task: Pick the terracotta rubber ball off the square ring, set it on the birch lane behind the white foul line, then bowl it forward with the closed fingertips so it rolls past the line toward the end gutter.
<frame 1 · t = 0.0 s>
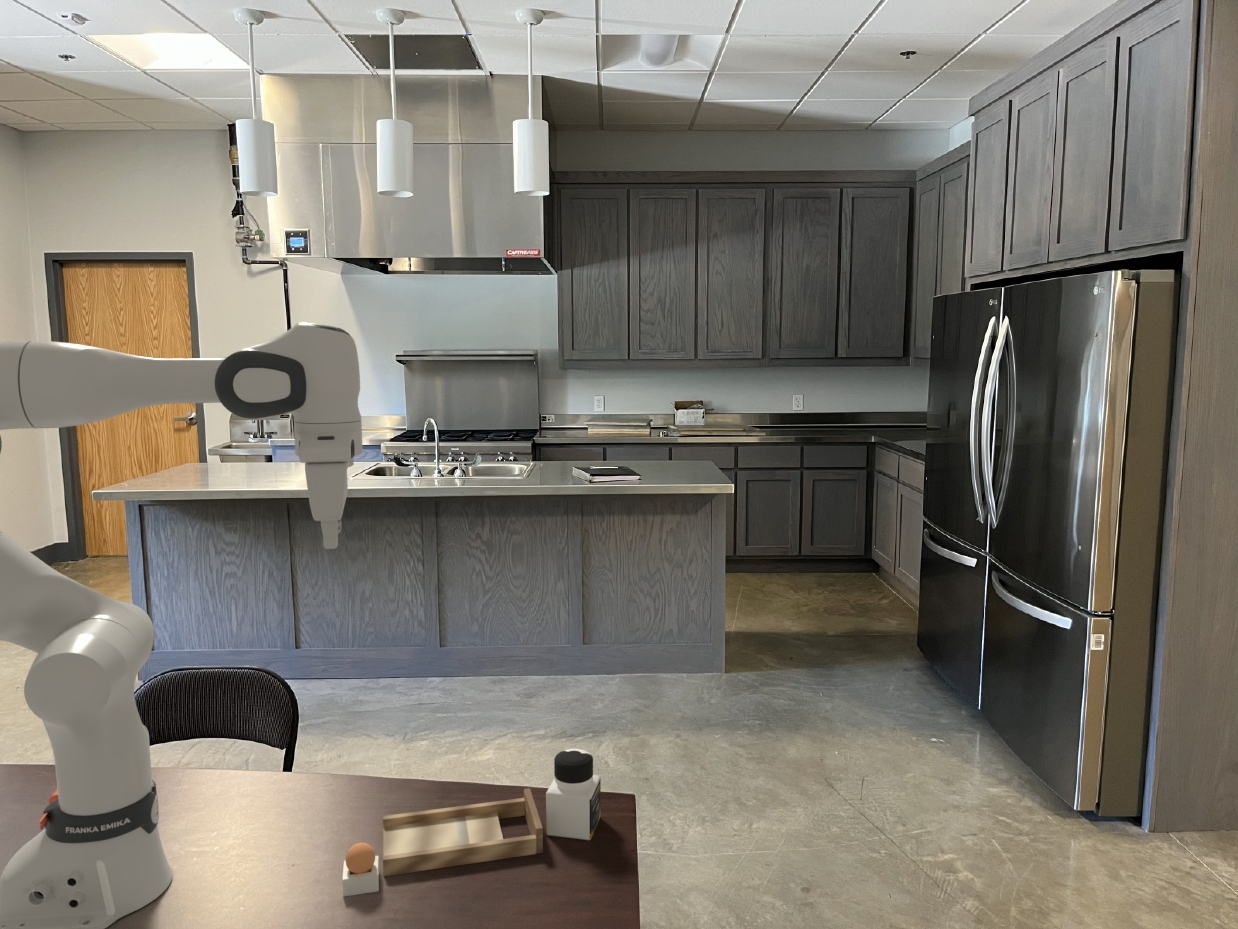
hand: (333, 540, 122), 48 cm above the table, fingers open, 8 cm apart
medicine bottle: (573, 827, 137), on the table
square ring: (361, 883, 123), on the table
ball: (360, 858, 122), point 4 cm above the table, touching square ring
lane: (458, 842, 133), on the table
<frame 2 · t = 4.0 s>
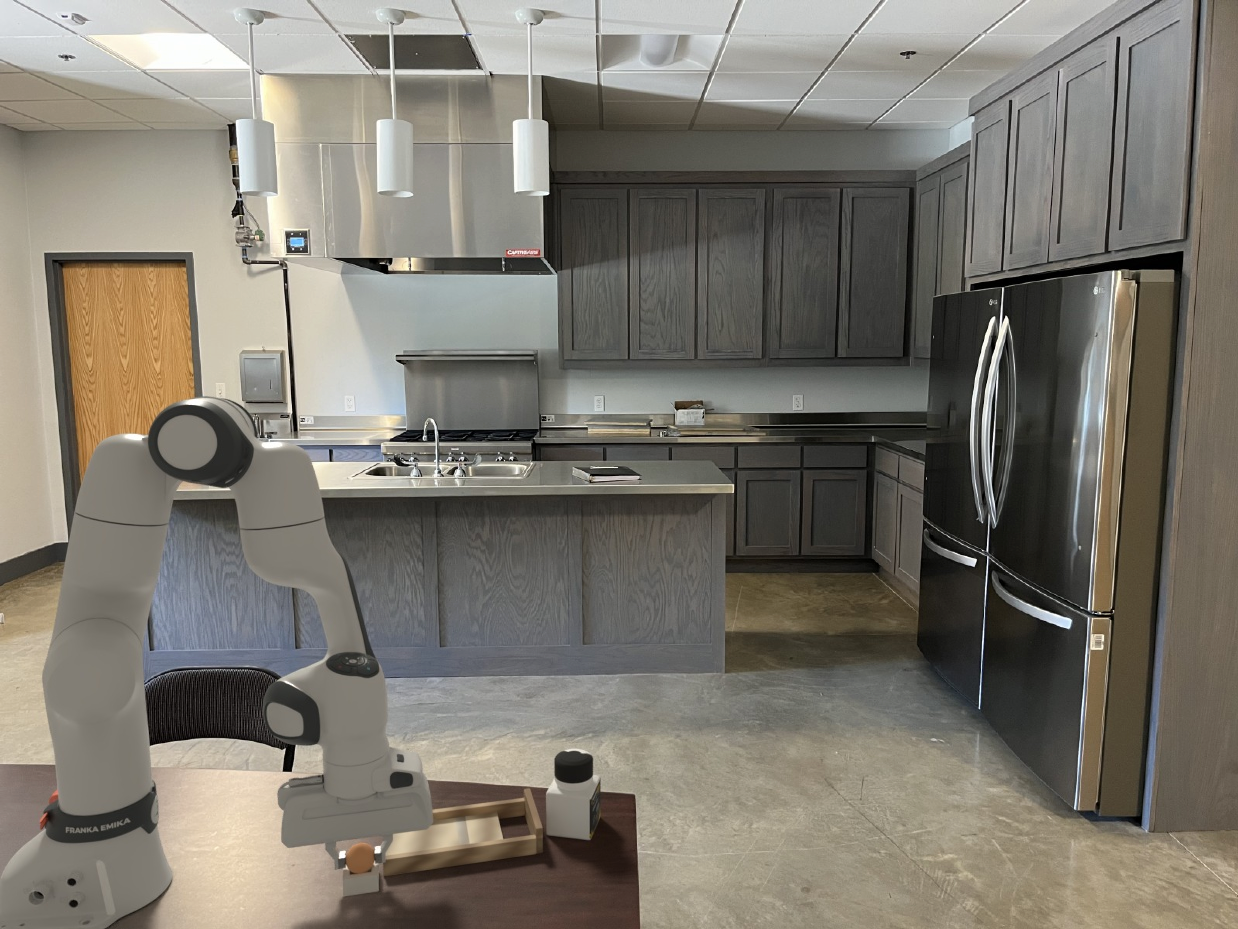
hand: (360, 864, 122), 3 cm above the table, fingers closed on ball, 4 cm apart
ball: (360, 858, 122), point 4 cm above the table, touching gripper, square ring
everything else where it was.
when the fingers open (3 cm above the table, at t = 8.2 s): ball stays where it is, resting on lane.
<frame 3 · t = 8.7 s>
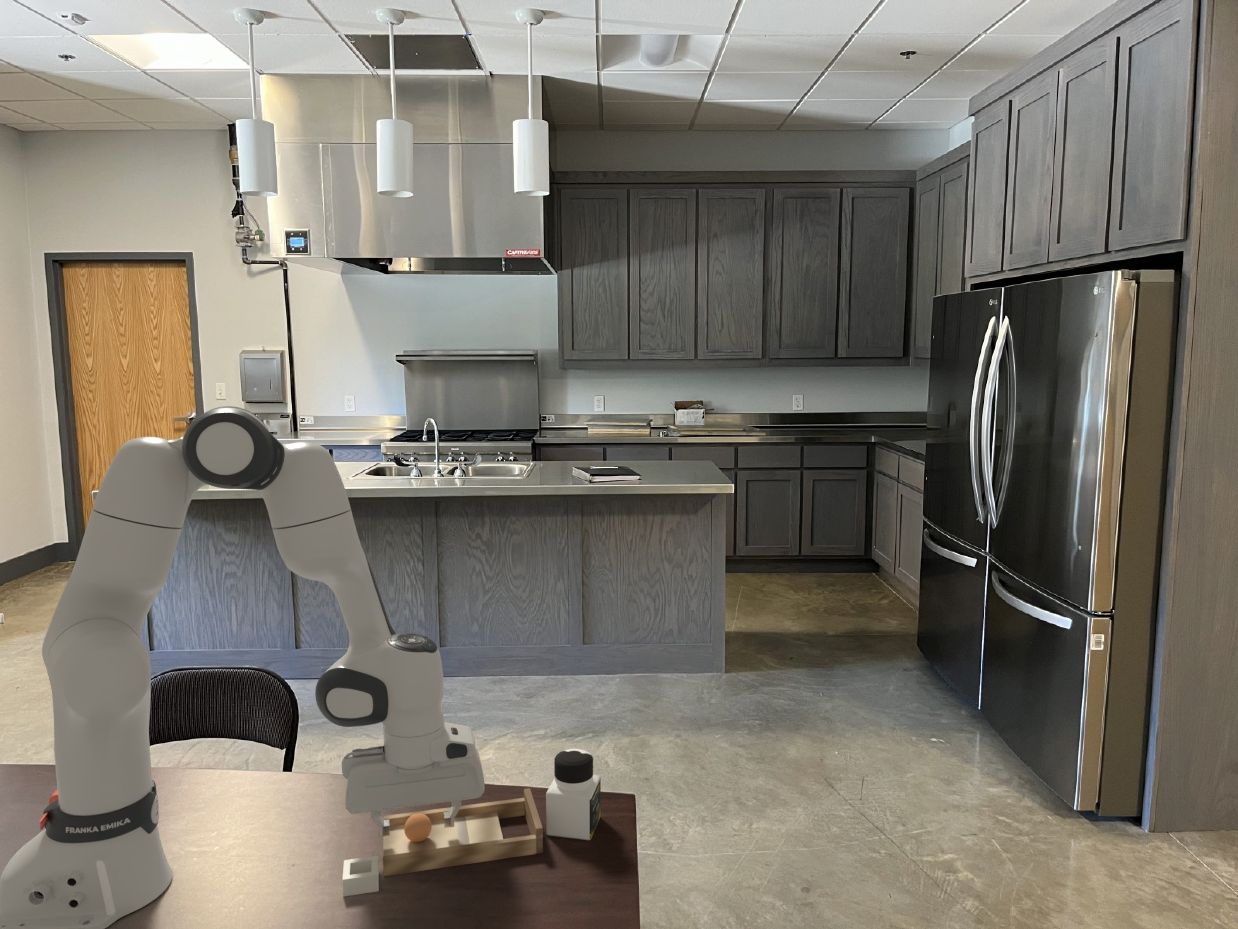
hand: (417, 830, 131), 3 cm above the table, fingers open, 8 cm apart
ball: (418, 827, 131), point 3 cm above the table, touching lane
everything else where it was.
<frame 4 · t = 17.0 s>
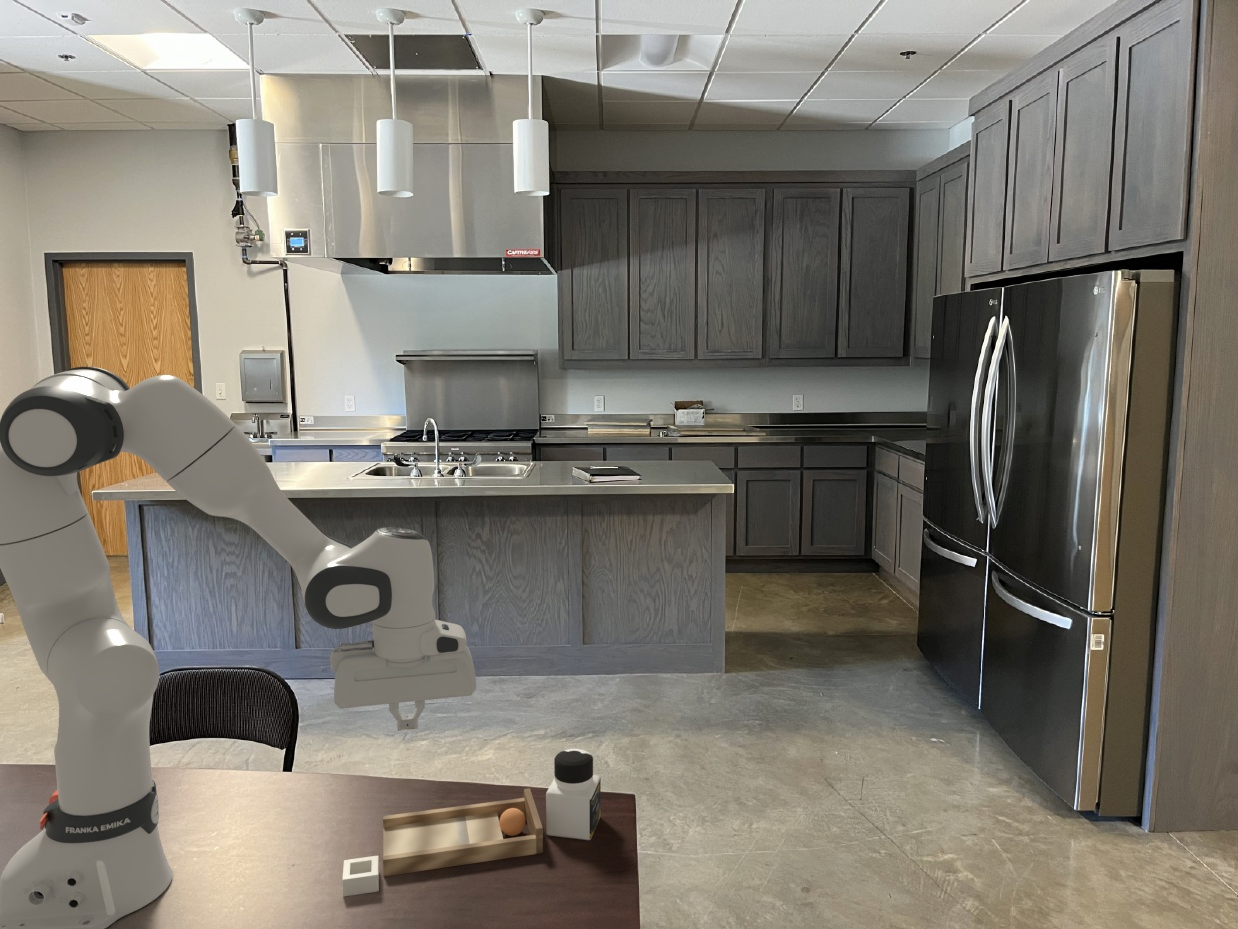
hand: (407, 728, 128), 19 cm above the table, fingers closed
ball: (512, 822, 135), point 2 cm above the table, tilted 80°
everything else where it was.
at the end: ball inside the target area (0.4 cm from its centre), point 2.0 cm above the table; the gripper is holding nothing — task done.
